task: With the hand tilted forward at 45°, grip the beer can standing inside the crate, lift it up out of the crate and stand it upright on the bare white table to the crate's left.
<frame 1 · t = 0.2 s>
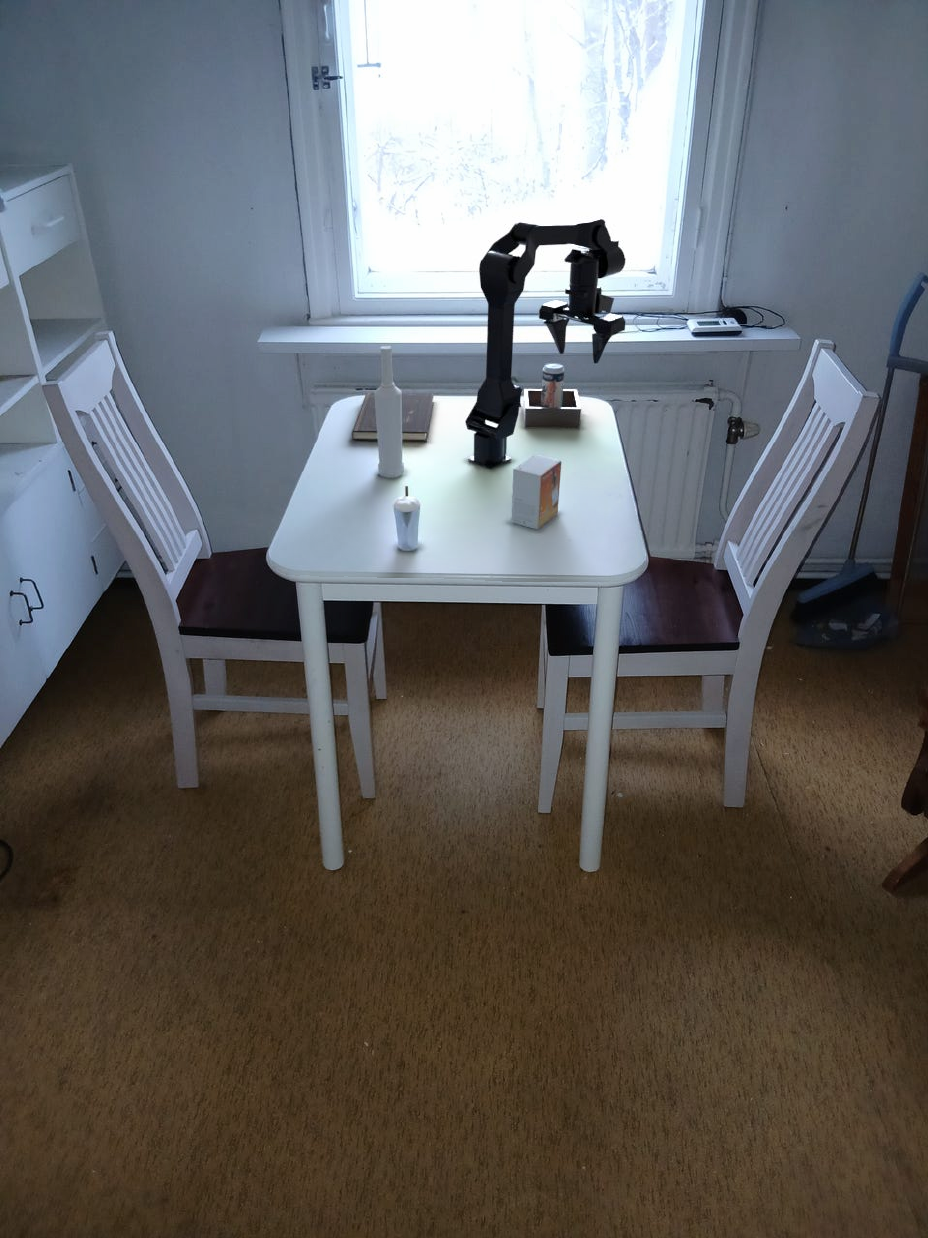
hand: (578, 358, 196), 15 cm above the table, tool pointing down, fingers open, 9 cm apart
bottle: (391, 473, 182), on the table
small box: (534, 519, 166), on the table
crate: (550, 417, 207), on the table
hardcover book: (394, 422, 205), on the table
milkshake: (408, 546, 157), on the table
beer can: (550, 418, 207), resting in crate
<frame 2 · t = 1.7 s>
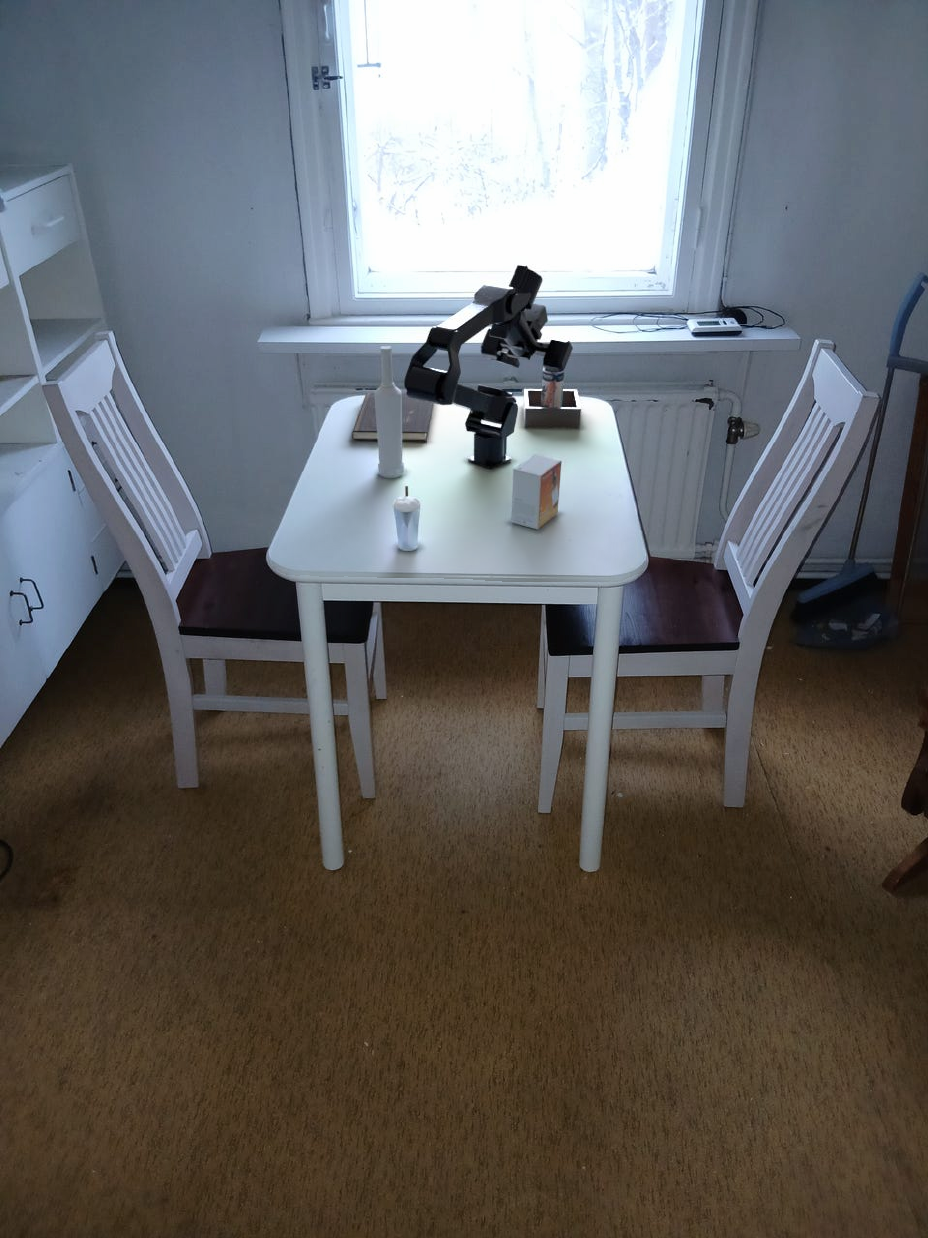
hand: (537, 369, 194), 13 cm above the table, tool tilted 45°, fingers open, 9 cm apart
nothing on the table moved.
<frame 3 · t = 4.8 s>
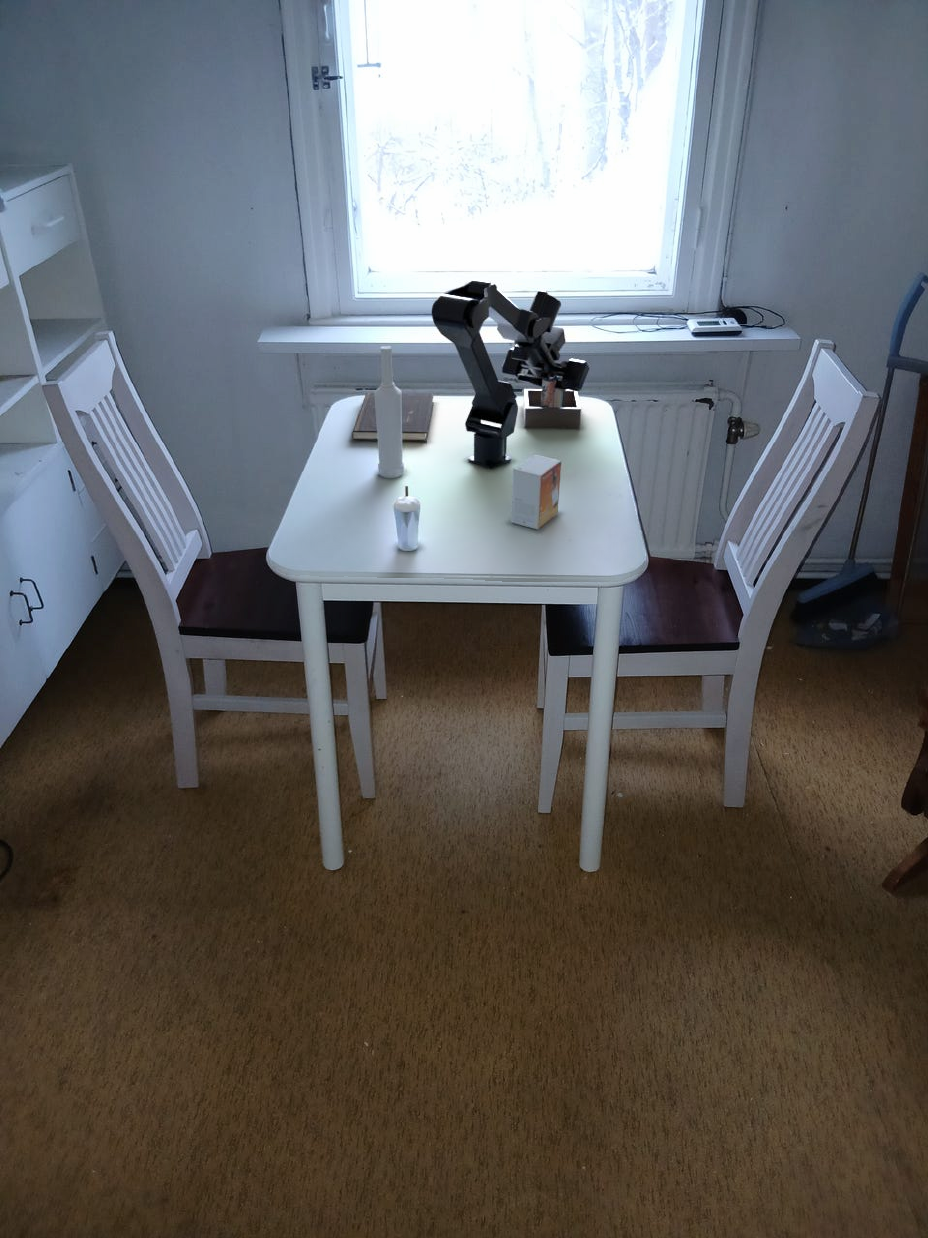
hand: (555, 387, 204), 7 cm above the table, tool tilted 45°, fingers closed on beer can, 5 cm apart
beer can: (550, 418, 207), resting in crate, touching gripper
everything else where it was.
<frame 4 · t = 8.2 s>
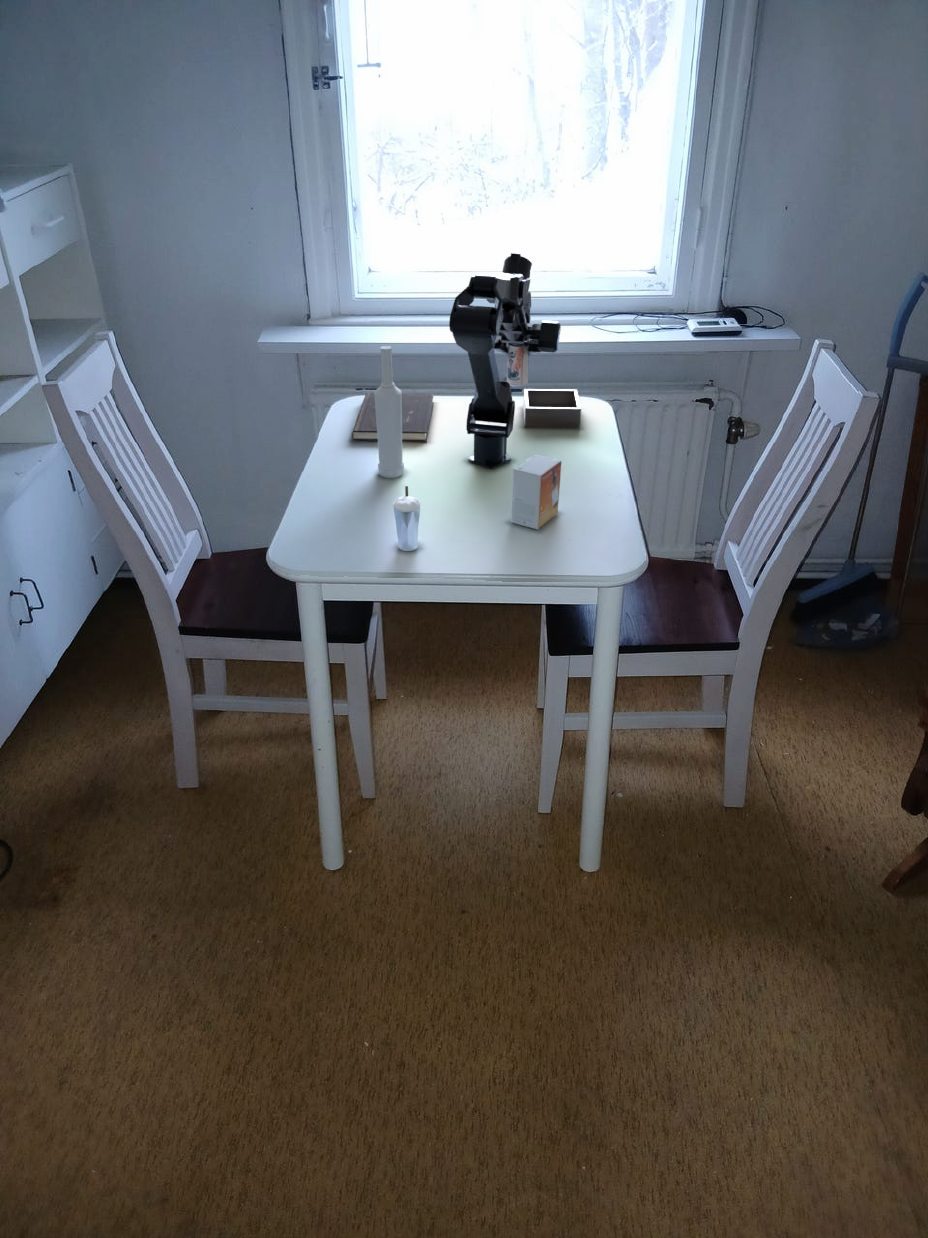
hand: (519, 353, 203), 13 cm above the table, tool tilted 45°, fingers closed on beer can, 5 cm apart
beer can: (517, 385, 206), point 7 cm above the table, touching gripper
everything else where it was.
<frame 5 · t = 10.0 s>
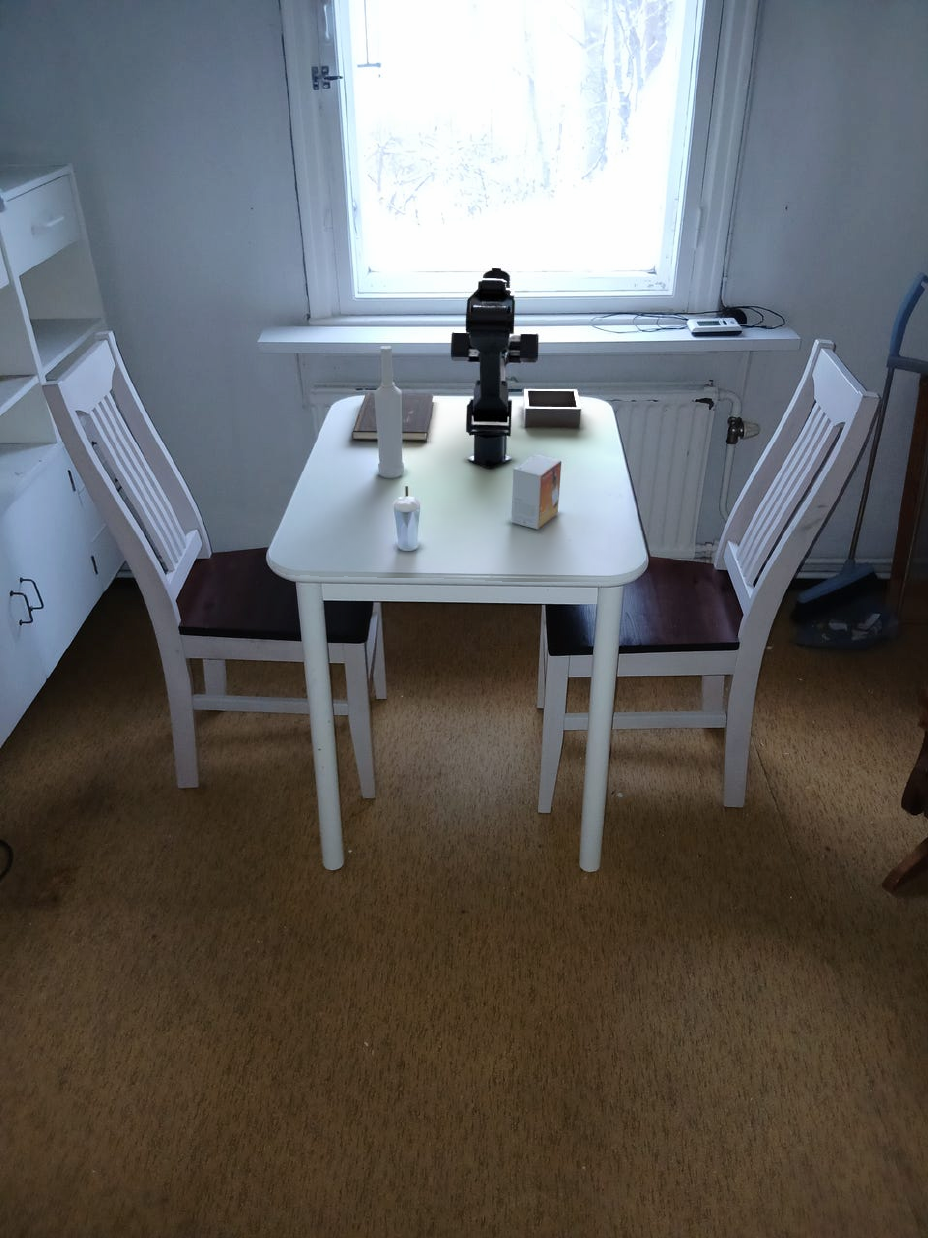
hand: (494, 364, 205), 10 cm above the table, tool tilted 45°, fingers closed on beer can, 5 cm apart
beer can: (493, 396, 208), point 4 cm above the table, touching gripper
everything else where it was.
when the fingers open (7 cm above the table, at t = 11.5 s): beer can stays where it is, on the table.
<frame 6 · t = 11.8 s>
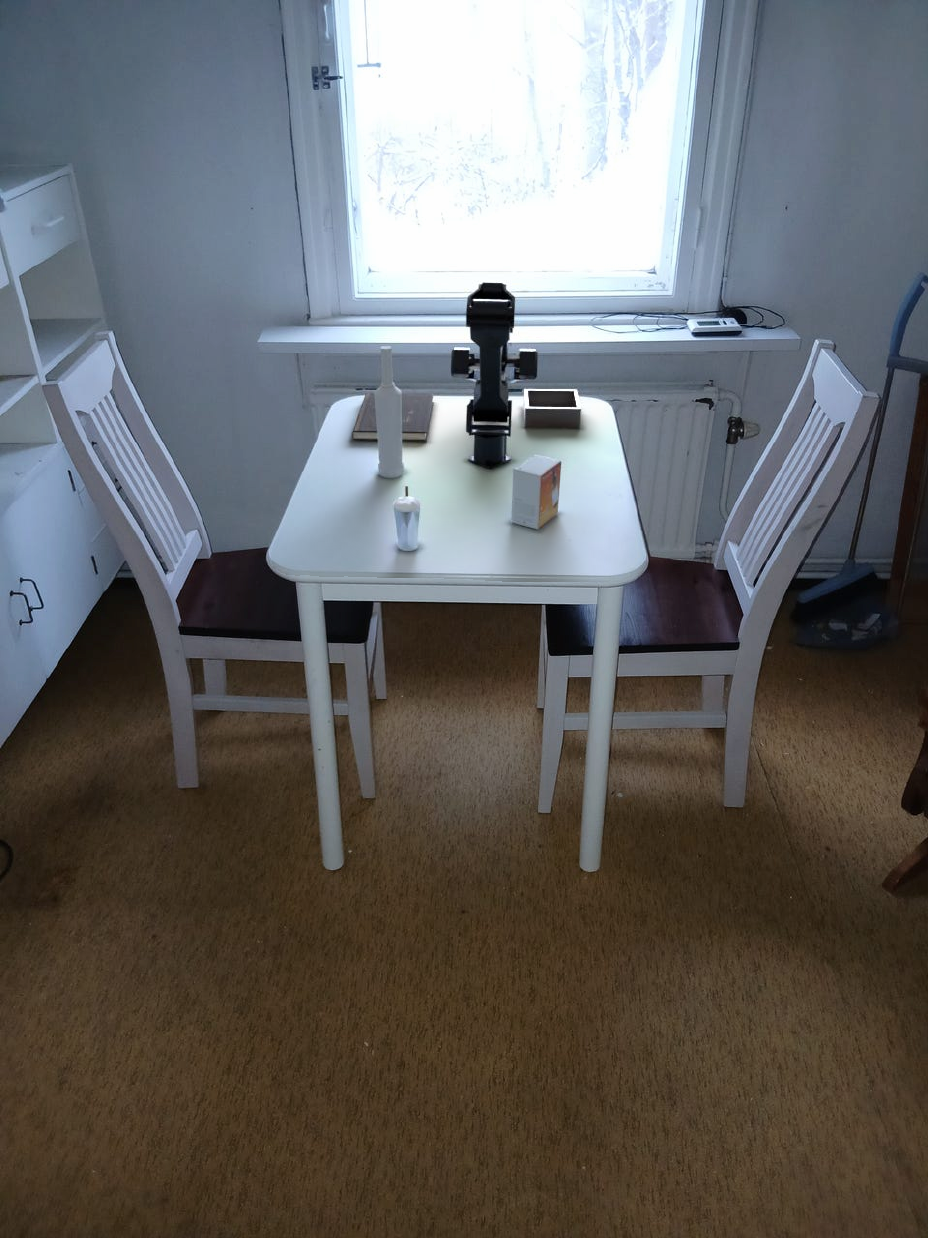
hand: (494, 380, 207), 7 cm above the table, tool tilted 45°, fingers open, 7 cm apart
beer can: (493, 412, 210), on the table
everything else where it was.
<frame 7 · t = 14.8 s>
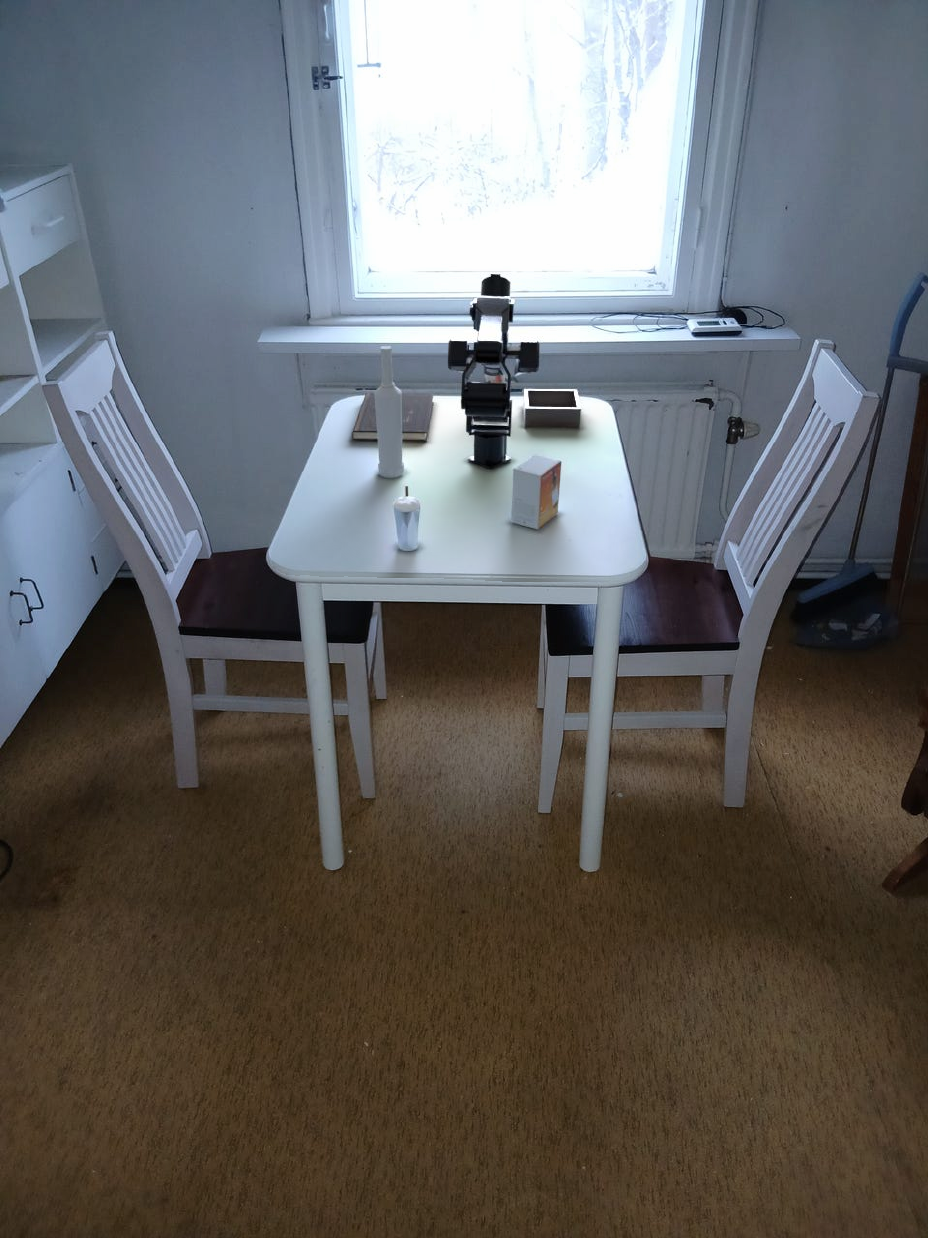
hand: (493, 373, 197), 12 cm above the table, tool tilted 45°, fingers open, 9 cm apart
nothing on the table moved.
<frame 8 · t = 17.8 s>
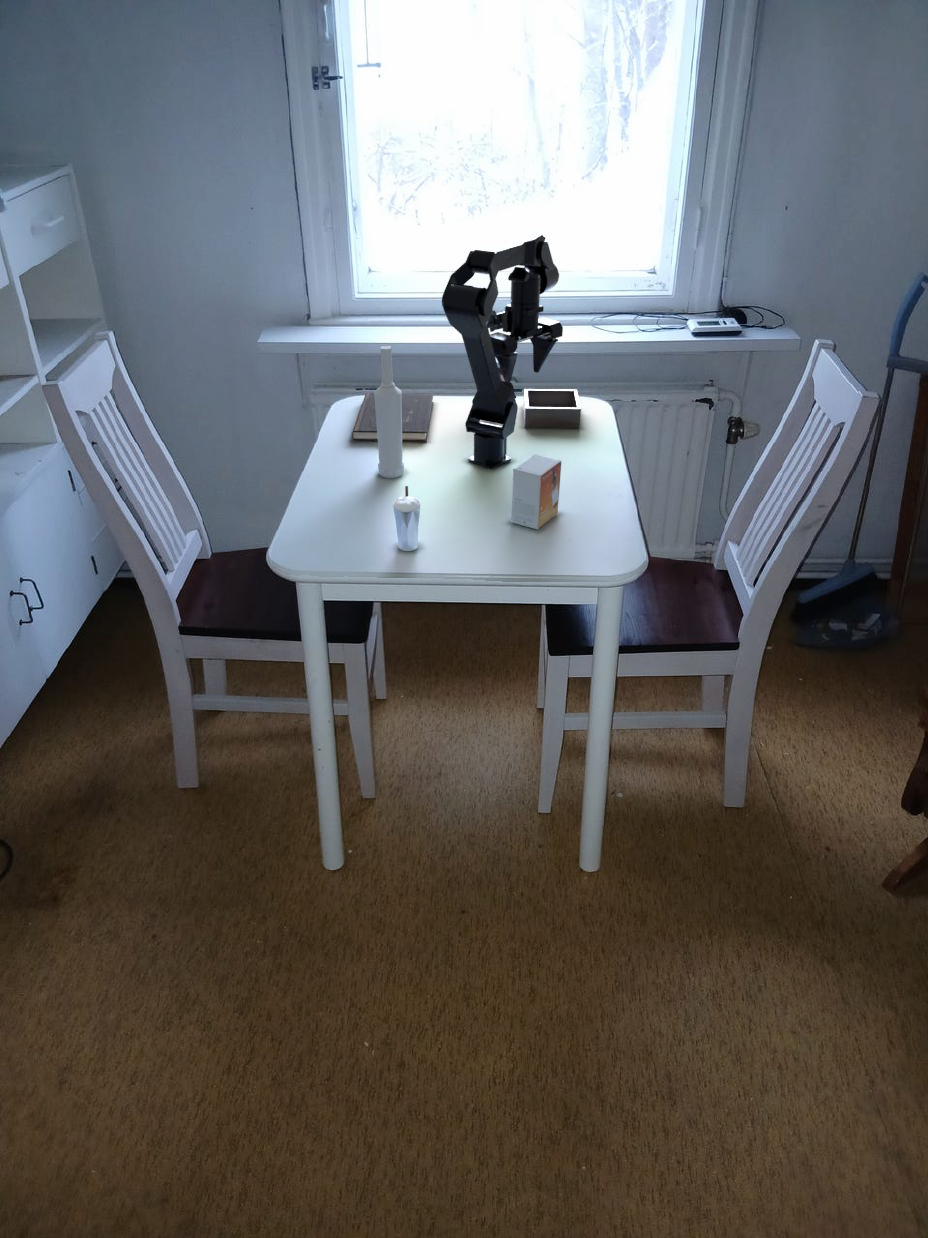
hand: (521, 377, 191), 13 cm above the table, tool pointing down, fingers open, 9 cm apart
nothing on the table moved.
at the end: beer can inside the target area (0.1 cm from its centre), on the table; beer can tilted 0°; the gripper is holding nothing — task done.
